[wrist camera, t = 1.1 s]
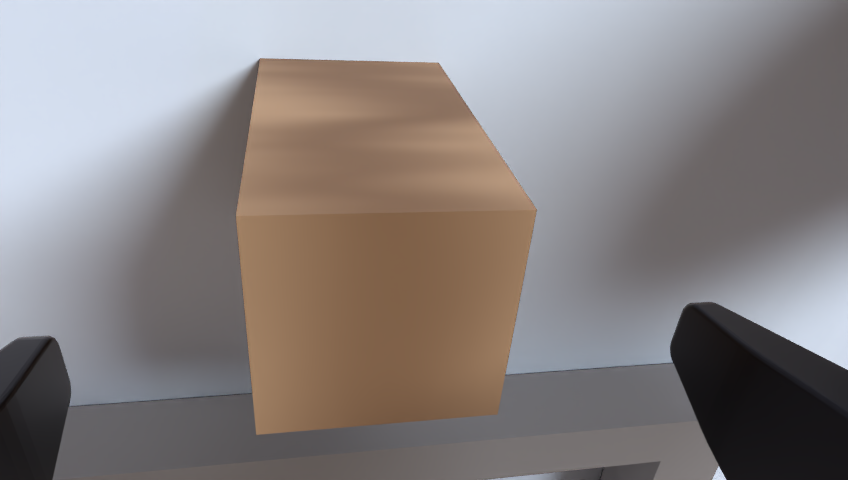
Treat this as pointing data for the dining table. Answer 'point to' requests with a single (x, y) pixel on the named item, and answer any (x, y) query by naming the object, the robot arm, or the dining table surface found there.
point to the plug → (375, 248)
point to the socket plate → (408, 437)
